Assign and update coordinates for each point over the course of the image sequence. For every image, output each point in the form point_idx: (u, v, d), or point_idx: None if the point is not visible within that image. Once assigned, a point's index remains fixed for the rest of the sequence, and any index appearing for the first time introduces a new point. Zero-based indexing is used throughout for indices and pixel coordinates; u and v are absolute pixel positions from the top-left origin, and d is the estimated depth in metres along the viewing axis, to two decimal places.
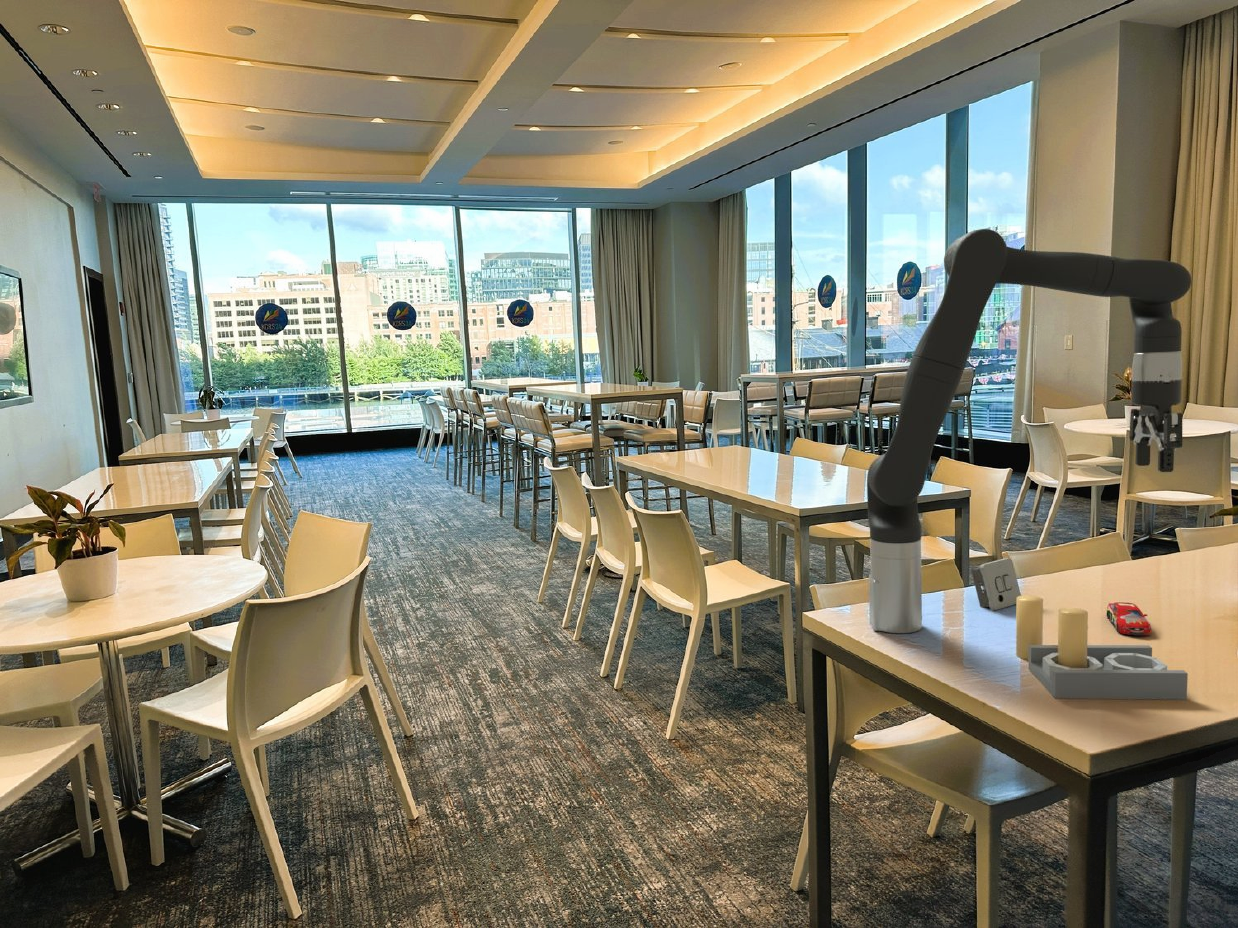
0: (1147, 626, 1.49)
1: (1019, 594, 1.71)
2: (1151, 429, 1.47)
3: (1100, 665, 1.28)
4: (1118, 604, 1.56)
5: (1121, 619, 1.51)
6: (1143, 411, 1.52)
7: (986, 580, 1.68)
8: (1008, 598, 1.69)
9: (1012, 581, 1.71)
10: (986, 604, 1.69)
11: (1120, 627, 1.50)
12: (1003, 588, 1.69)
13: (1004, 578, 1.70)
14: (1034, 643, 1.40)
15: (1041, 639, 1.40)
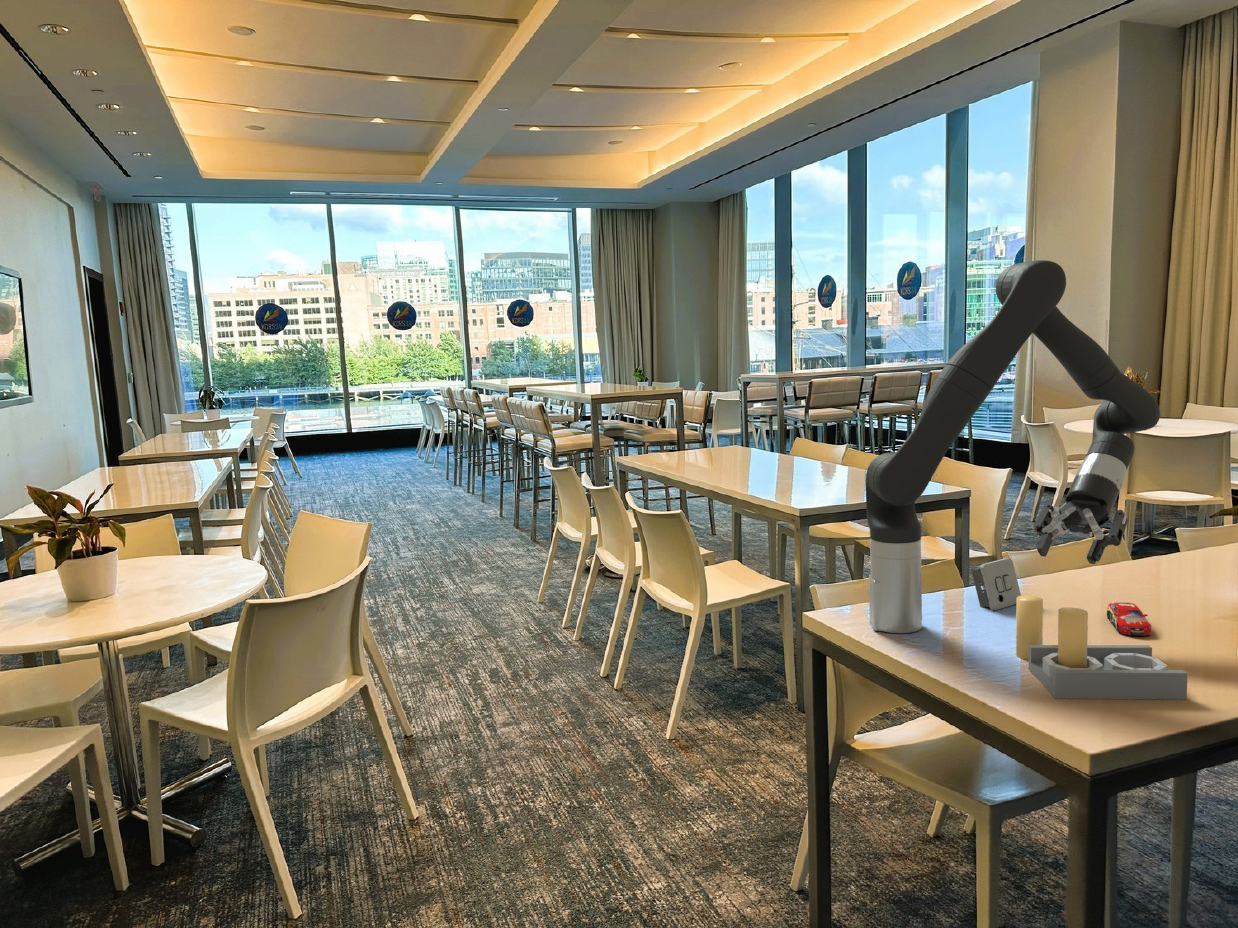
0: (1147, 626, 1.48)
1: (1019, 594, 1.71)
2: (1091, 519, 1.47)
3: (1100, 665, 1.28)
4: (1118, 604, 1.56)
5: (1121, 619, 1.51)
6: (1071, 506, 1.52)
7: (986, 580, 1.68)
8: (1008, 598, 1.69)
9: (1012, 581, 1.71)
10: (986, 604, 1.69)
11: (1120, 627, 1.50)
12: (1003, 588, 1.69)
13: (1004, 578, 1.70)
14: (1034, 643, 1.40)
15: (1041, 639, 1.40)
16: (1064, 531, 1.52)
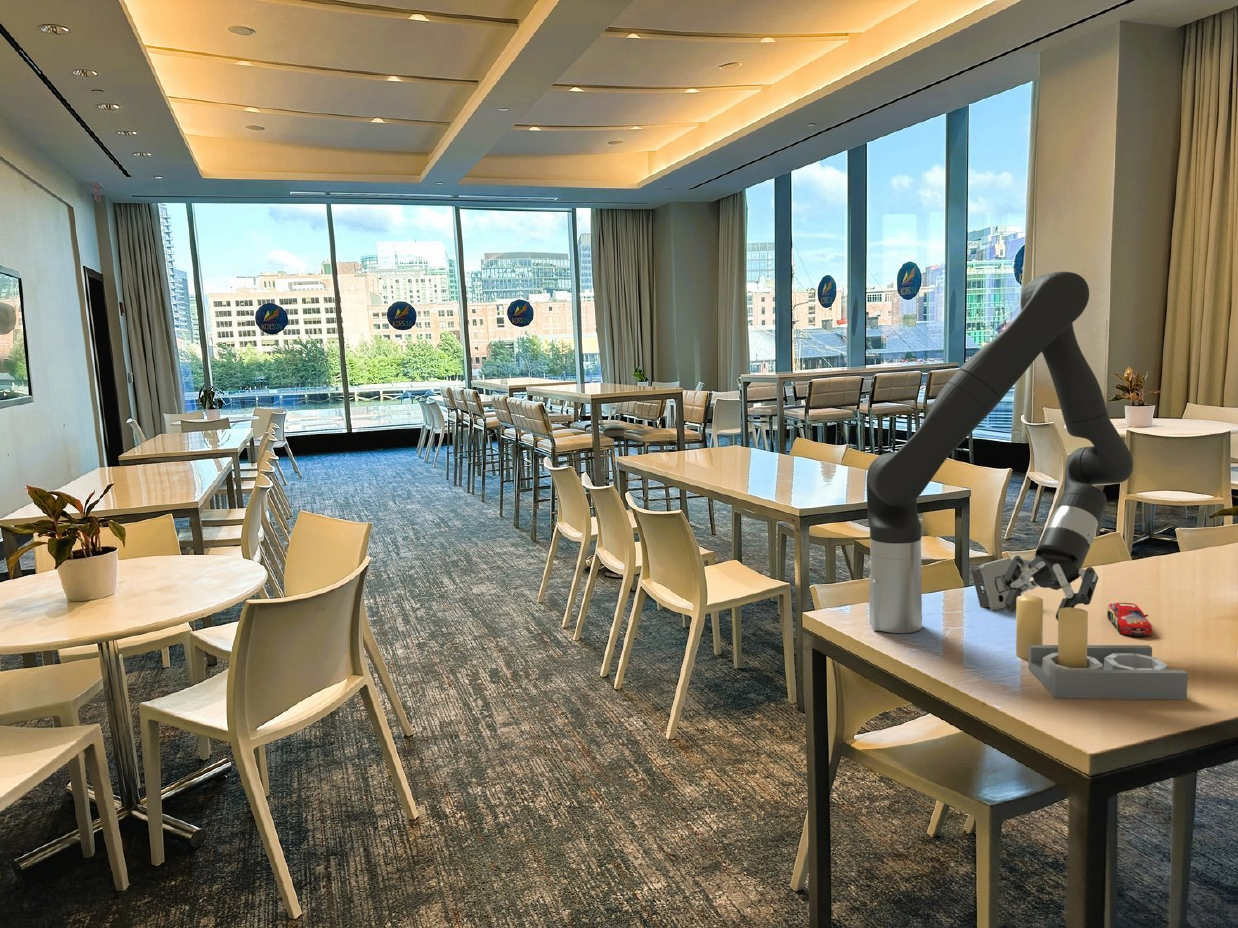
0: (1148, 626, 1.48)
1: None
2: (1061, 576, 1.42)
3: (1100, 665, 1.28)
4: (1119, 604, 1.55)
5: (1122, 619, 1.51)
6: (1041, 560, 1.47)
7: (986, 580, 1.68)
8: None
9: None
10: (986, 604, 1.69)
11: (1121, 628, 1.50)
12: (1003, 588, 1.69)
13: None
14: (1034, 643, 1.40)
15: (1041, 639, 1.40)
16: (1033, 586, 1.47)
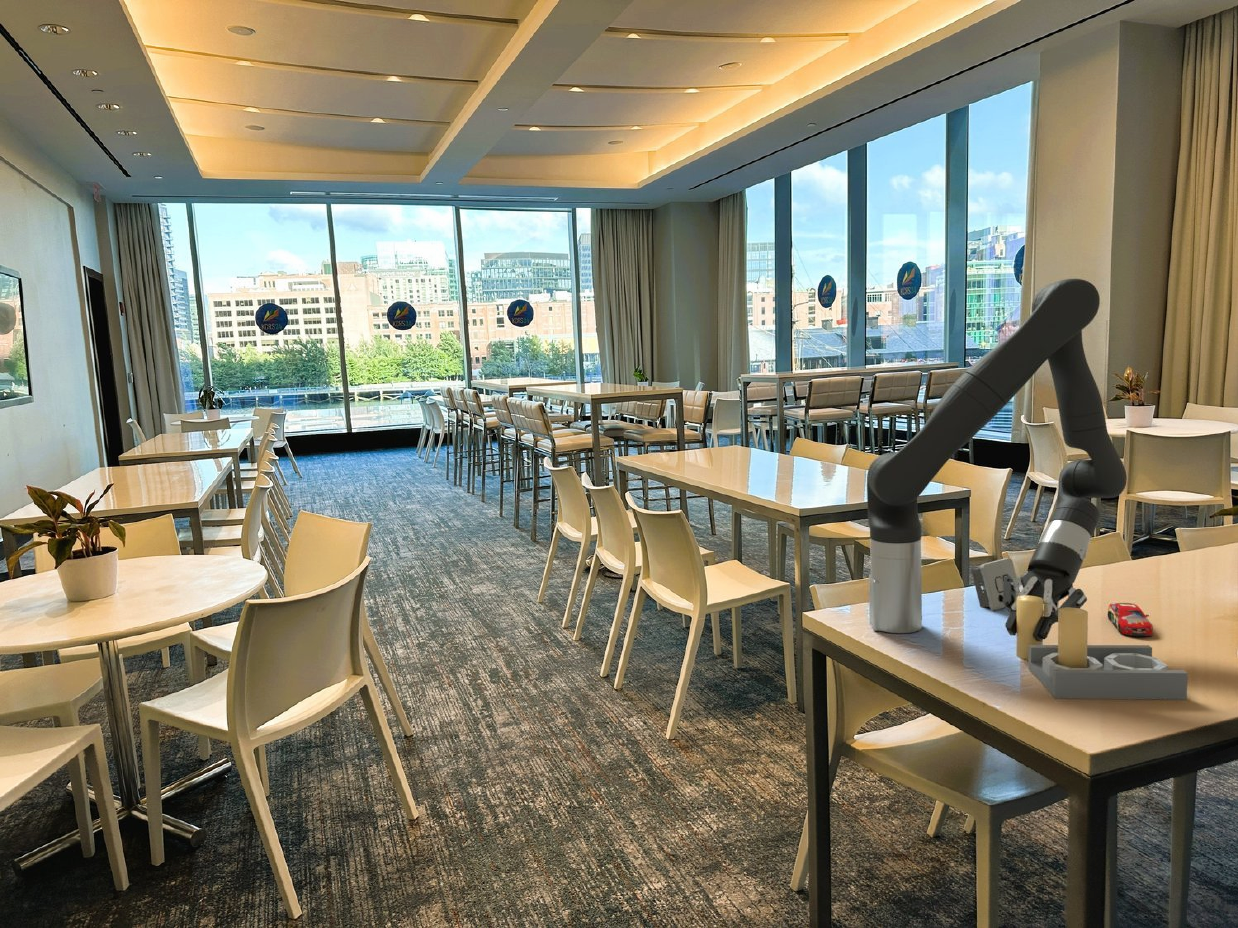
0: (1149, 627, 1.48)
1: None
2: (1048, 593, 1.41)
3: (1100, 665, 1.28)
4: (1119, 605, 1.55)
5: (1123, 620, 1.51)
6: (1033, 575, 1.45)
7: (986, 580, 1.68)
8: None
9: None
10: (986, 604, 1.69)
11: (1122, 628, 1.50)
12: (1003, 588, 1.69)
13: None
14: (1034, 643, 1.40)
15: None
16: None
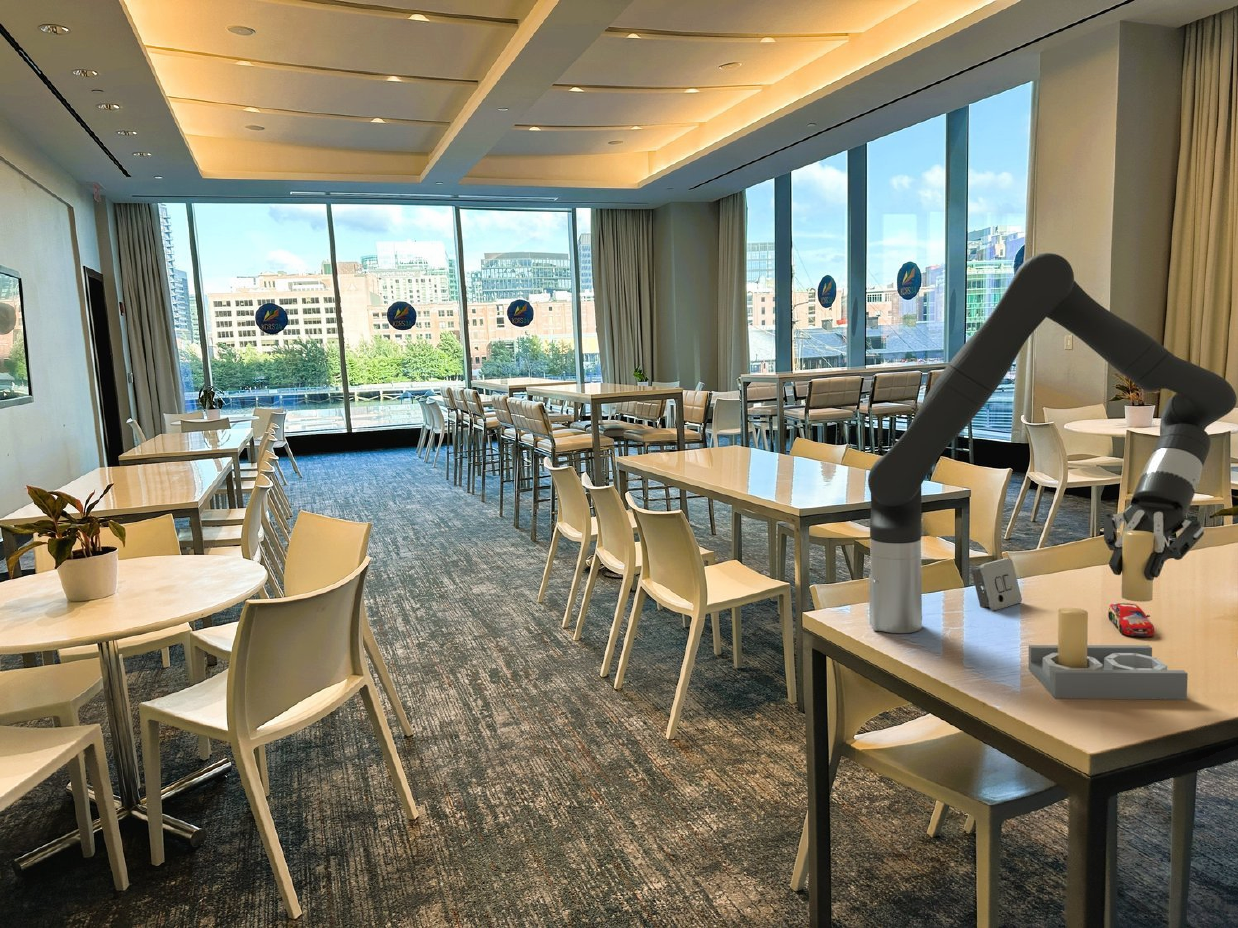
0: (1150, 627, 1.48)
1: (1019, 594, 1.71)
2: (1158, 526, 1.26)
3: (1100, 665, 1.28)
4: (1120, 605, 1.55)
5: (1124, 620, 1.51)
6: (1139, 509, 1.30)
7: (986, 580, 1.68)
8: (1008, 598, 1.69)
9: (1012, 581, 1.71)
10: (986, 604, 1.69)
11: (1123, 628, 1.49)
12: (1003, 588, 1.69)
13: (1004, 578, 1.70)
14: (1144, 582, 1.25)
15: None
16: None
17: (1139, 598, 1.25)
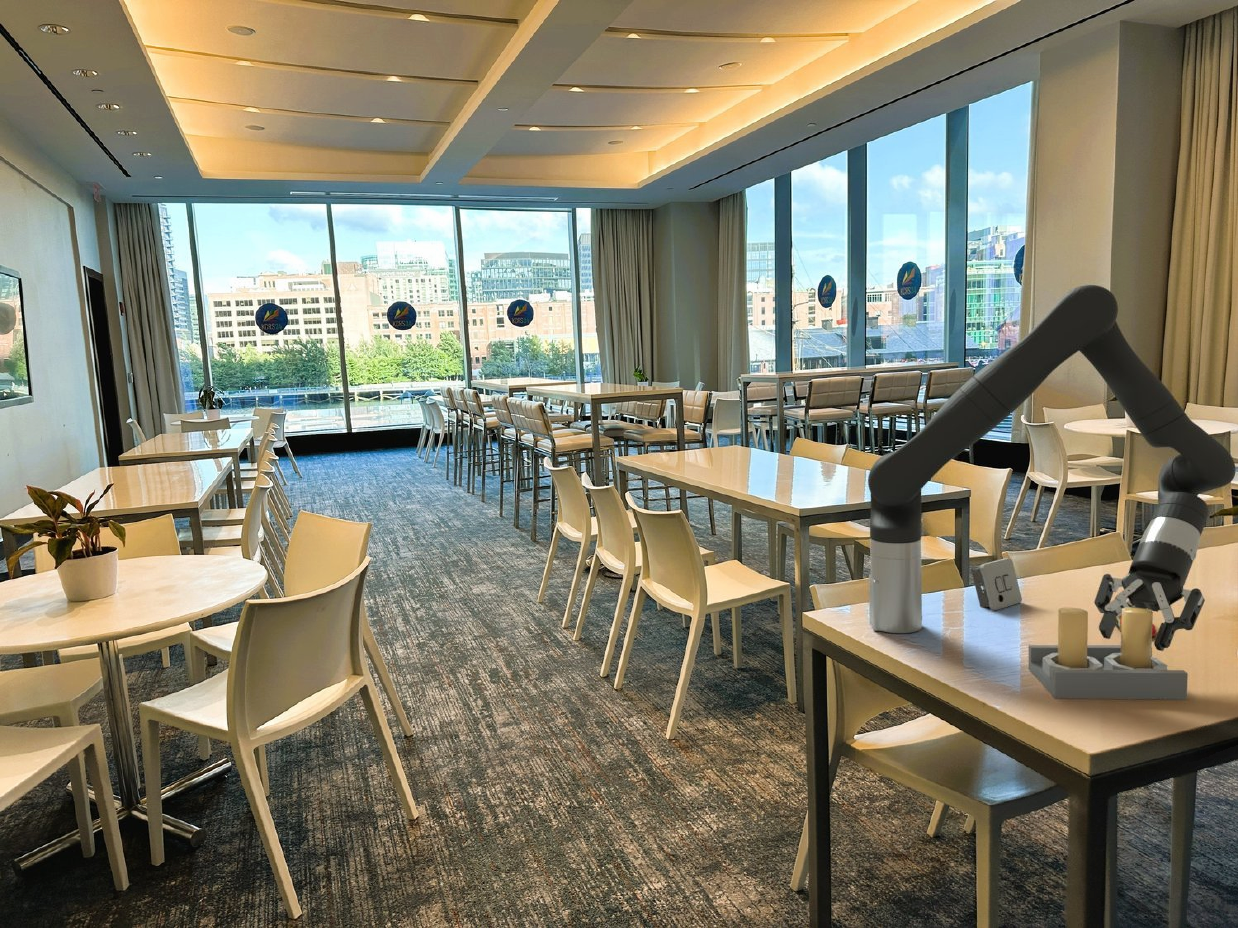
0: (1152, 627, 1.48)
1: (1019, 594, 1.71)
2: (1161, 597, 1.27)
3: (1100, 665, 1.28)
4: None
5: None
6: (1137, 578, 1.32)
7: (986, 580, 1.68)
8: (1008, 598, 1.69)
9: (1012, 581, 1.71)
10: (986, 604, 1.69)
11: None
12: (1003, 588, 1.69)
13: (1004, 578, 1.70)
14: (1143, 660, 1.26)
15: (1150, 655, 1.27)
16: None
17: None
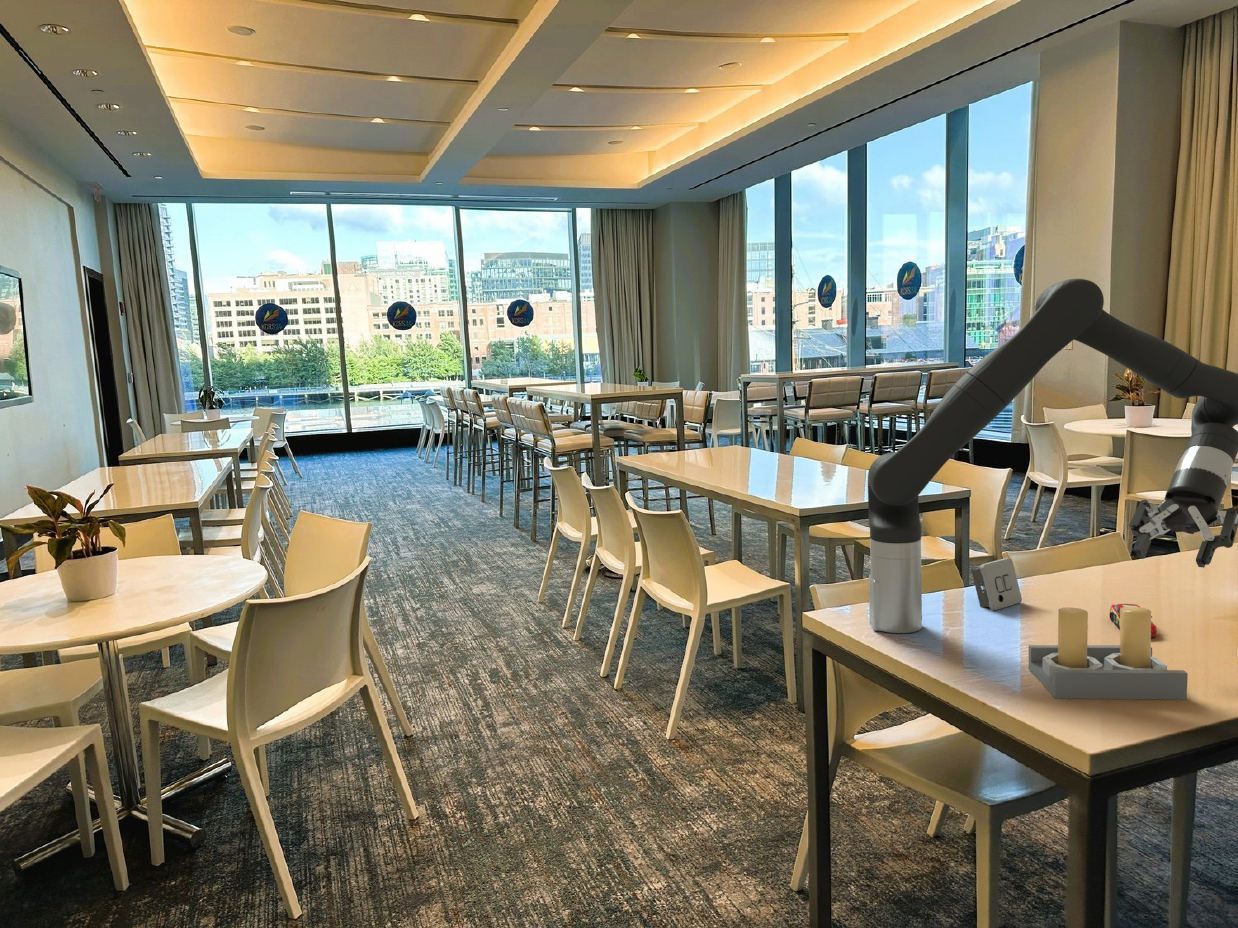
0: (1153, 628, 1.48)
1: (1019, 594, 1.71)
2: (1198, 518, 1.33)
3: (1100, 665, 1.28)
4: (1122, 606, 1.55)
5: None
6: (1173, 503, 1.38)
7: (986, 580, 1.68)
8: (1008, 598, 1.69)
9: (1012, 581, 1.71)
10: (986, 604, 1.69)
11: None
12: (1003, 588, 1.69)
13: (1004, 578, 1.70)
14: (1142, 659, 1.26)
15: (1149, 655, 1.27)
16: (1164, 531, 1.38)
17: None
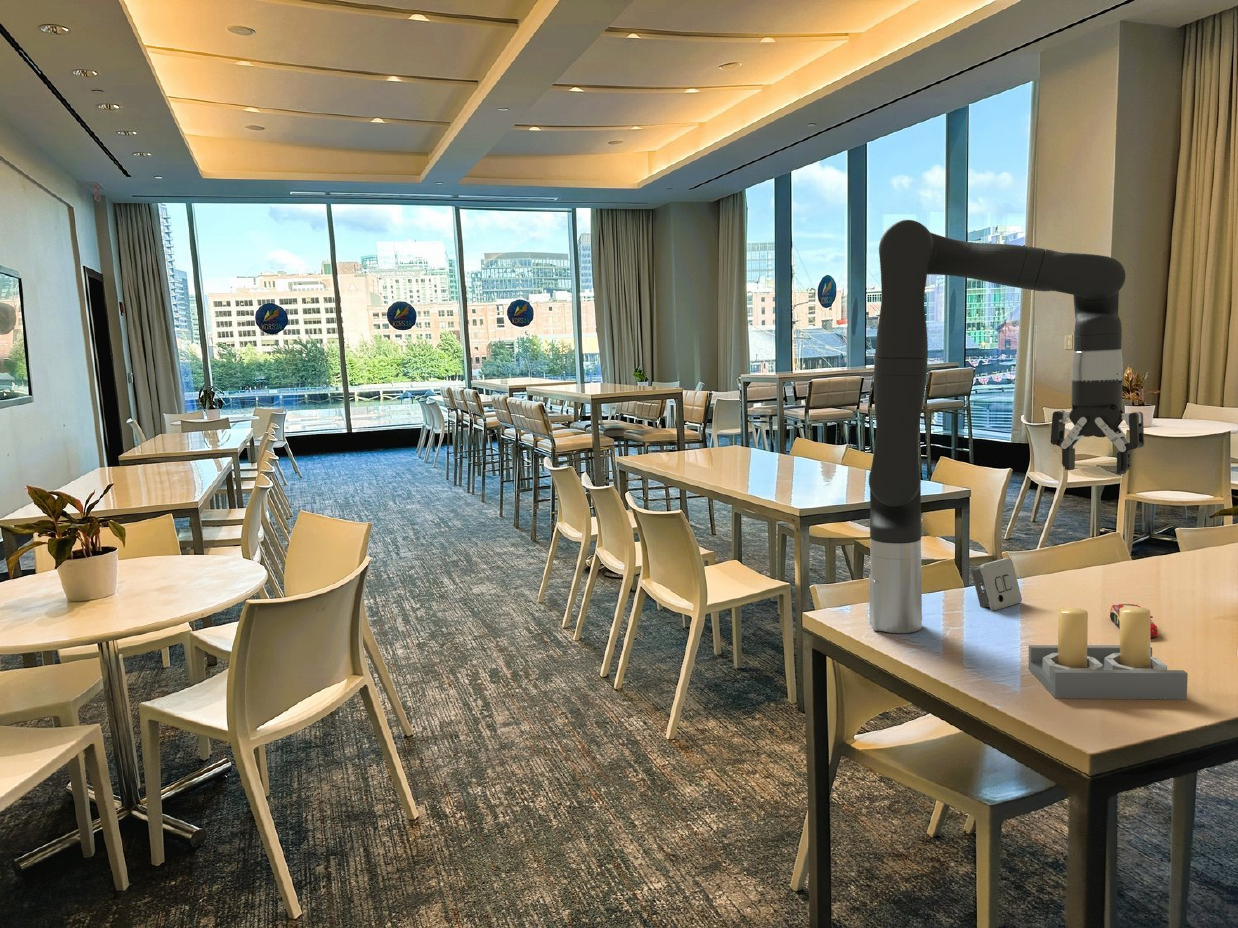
0: (1154, 628, 1.47)
1: (1019, 594, 1.71)
2: (1107, 430, 1.41)
3: (1100, 665, 1.28)
4: (1123, 606, 1.55)
5: None
6: (1081, 412, 1.44)
7: (986, 580, 1.68)
8: (1008, 598, 1.69)
9: (1012, 581, 1.71)
10: (986, 604, 1.69)
11: None
12: (1003, 588, 1.69)
13: (1004, 578, 1.70)
14: (1141, 659, 1.26)
15: (1149, 655, 1.27)
16: (1082, 435, 1.47)
17: None
